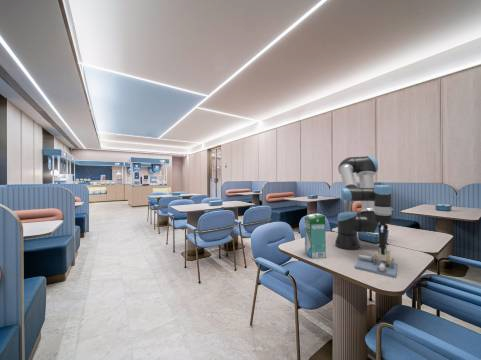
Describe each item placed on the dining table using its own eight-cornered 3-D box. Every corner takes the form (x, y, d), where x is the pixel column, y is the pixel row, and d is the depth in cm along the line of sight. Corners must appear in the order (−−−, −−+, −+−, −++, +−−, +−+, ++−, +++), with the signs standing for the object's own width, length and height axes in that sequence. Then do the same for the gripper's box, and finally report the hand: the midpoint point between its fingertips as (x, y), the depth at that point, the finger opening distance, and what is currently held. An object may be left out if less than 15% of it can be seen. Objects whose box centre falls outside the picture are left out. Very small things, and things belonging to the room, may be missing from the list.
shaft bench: (354, 268, 106) (354, 259, 106) (360, 258, 118) (360, 251, 118) (395, 278, 95) (395, 268, 95) (397, 266, 108) (397, 257, 108)
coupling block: (389, 264, 103) (389, 252, 104) (377, 261, 107) (377, 251, 107) (390, 261, 107) (389, 250, 107) (378, 258, 110) (378, 248, 111)
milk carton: (305, 253, 129) (304, 213, 129) (318, 252, 130) (318, 213, 130) (311, 258, 120) (310, 216, 120) (325, 257, 121) (325, 215, 121)
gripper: (390, 217, 98) (391, 266, 98) (392, 212, 112) (393, 255, 112) (372, 216, 103) (372, 262, 103) (376, 211, 117) (376, 252, 117)
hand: (383, 258), depth 107 cm, fingers closed on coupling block, 5 cm apart
